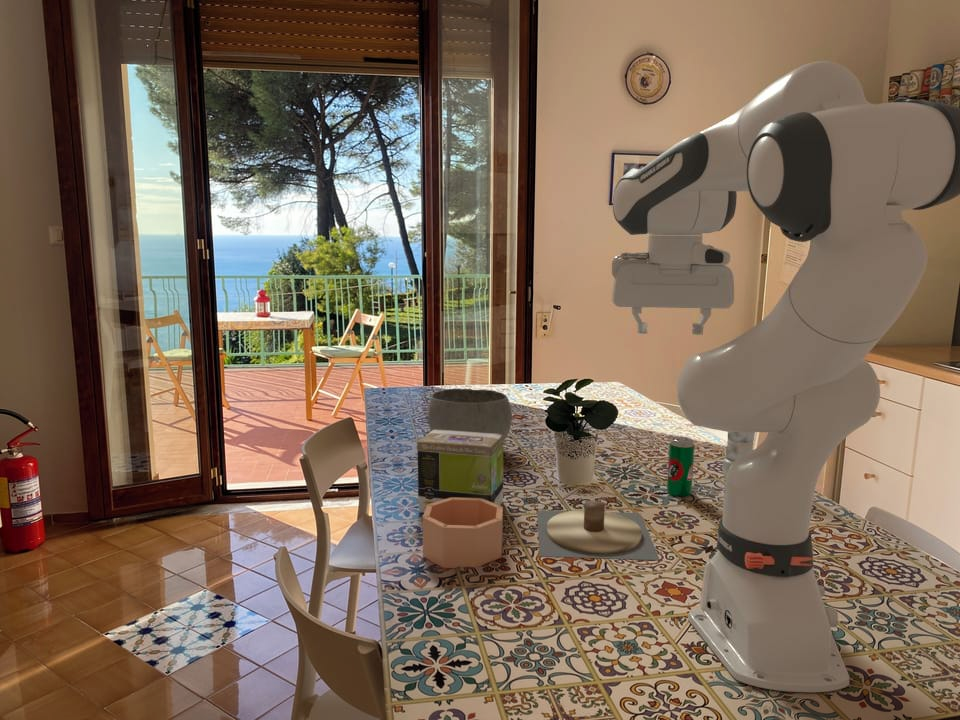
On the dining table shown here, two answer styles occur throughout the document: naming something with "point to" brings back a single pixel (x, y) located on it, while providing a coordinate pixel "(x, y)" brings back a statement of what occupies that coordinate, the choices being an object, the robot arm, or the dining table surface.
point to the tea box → (459, 466)
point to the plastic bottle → (737, 447)
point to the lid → (594, 530)
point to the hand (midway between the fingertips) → (669, 333)
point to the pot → (462, 532)
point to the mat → (554, 550)
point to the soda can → (680, 466)
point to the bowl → (470, 411)
